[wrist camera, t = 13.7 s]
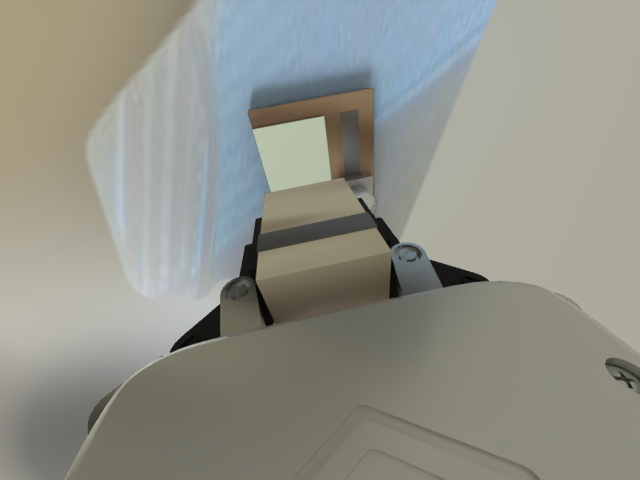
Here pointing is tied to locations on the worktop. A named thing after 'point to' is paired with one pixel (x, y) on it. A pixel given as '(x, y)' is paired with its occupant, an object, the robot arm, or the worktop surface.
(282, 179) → the pad
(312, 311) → the beige block
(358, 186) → the silver slider knob
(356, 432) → the robot arm
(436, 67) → the worktop surface
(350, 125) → the board
